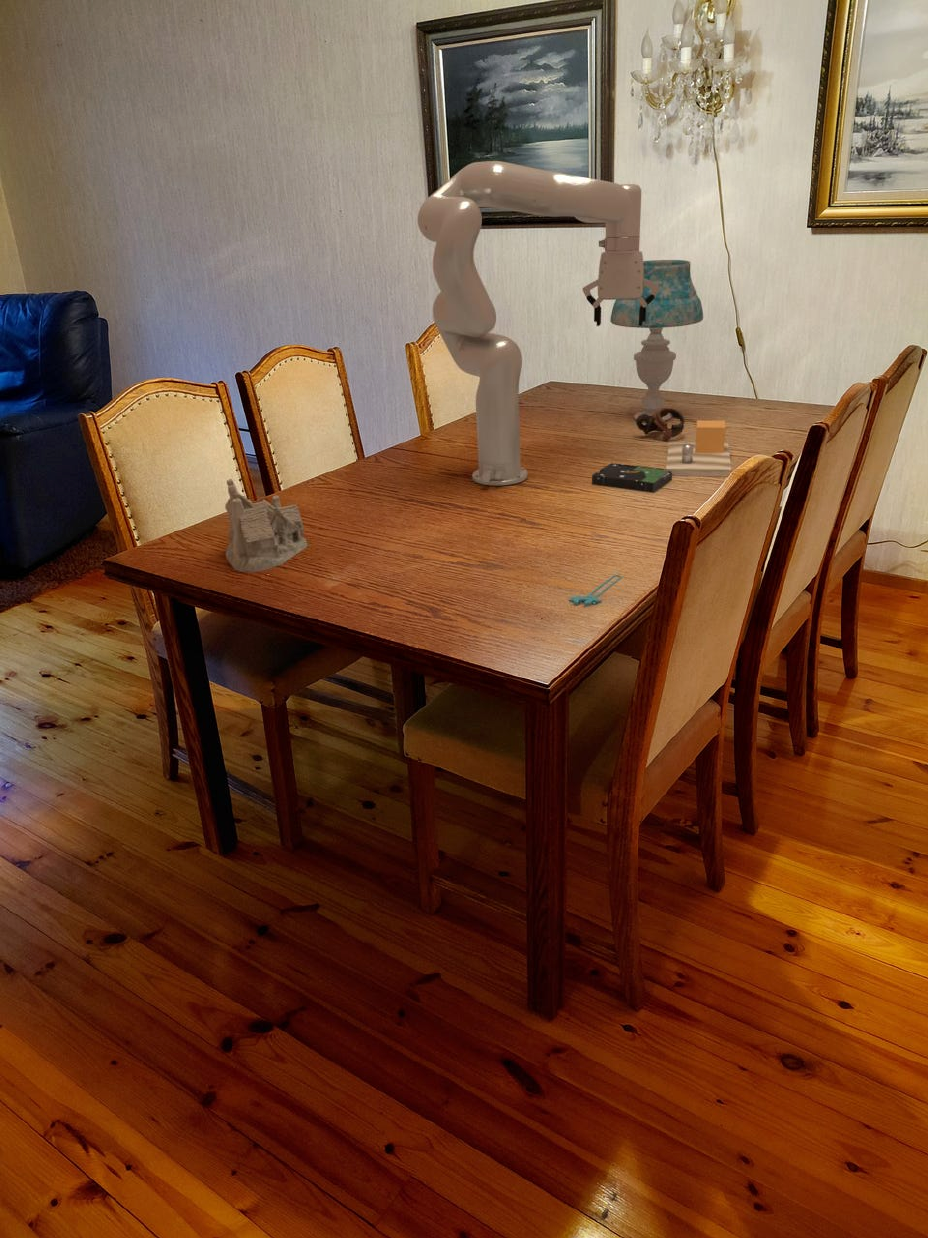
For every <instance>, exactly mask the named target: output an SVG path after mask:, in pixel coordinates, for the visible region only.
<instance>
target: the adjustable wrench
mask: <svg viewBox="0 0 928 1238" xmlns="http://www.w3.org/2000/svg"><path fill="white" fill-rule="evenodd" d="M616 577H618V578H617V579H616V580H615V581H613V582H612V583H611V584H609V585H608V586H607V587H606V586H604V585H607V583H609V582H610V581H611V580H612V579H614V578H616ZM622 577H623V576H622V575H621V574H619V575H618V574H614V575H612V576H611V577H609V578H608V579H607V580H606V581H604V582H603V583H602V584H600V585H598V587H597V588H595V589H594V590H593V591H591V592H590V593H588V594H587V595H584V596H583V595H582V596H580V595H575V596H570V597H569V602H570V603H572V605H575V606H576V607H578V606H579V604H583V603H584V607H591V606H592V605H593V606H596V605H599V604H602V599H599V597H600V596H601V595H602V594H604V593H605V592H606V591H608V590H609V589H610V588H612V587H613V586H614V585H615V584H616V583H617V582H619V581H620V580H621V579H622ZM595 593H598V594H597V595H596V594H595ZM593 594H595V595H593Z"/></svg>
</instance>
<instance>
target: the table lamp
mask: <svg viewBox="0 0 928 1238" xmlns="http://www.w3.org/2000/svg"><path fill="white" fill-rule="evenodd" d="M691 264H692V263H691V261H689V260H684V259H683V260H681V259H657V260H655V259H653V260H652V259H651V260H643V266H644V278H645V279H647V280H649V281H651V282H653V283H655V284H656V285H658V286H659V287H660V288H659V291H658V292H657V294H656V296H655V298H654V299H653V300H652V301H651V302H650V303H649V304H648V305H647V307H646V321H645V322H643V324H642V326H640V325H639V308H640V307H641V304H640V303H639V302H638V300H637V299H628V300H614V303H613V306H612V311H611V313H610V323H611V324H613V325H615V326H618V327H626V328H637V329H638V328H641V329H642V328H643V329H649V332H650V333H649V334H648V337H647V338H646V339H643V340H641V342H640V345H641V346H642V348H641V349H640V351H638V352H635V353H634V355H633V359H634V361H635V363H636V372H637V376H638V379H639V380H640V381H641V383H643V384H645V386H646V387H647V390H648V391H646V392H645V396H643V397H642V398H641V401H640V402H641V405H640V406H641V409H643V411H639V412H637V413H635V415H634V416H633V417H634V419H635V420H636V419H637V418H638V416H640V415H642V414H647V415H649V416H651V415H653V414H654V413H656V412H658V410H659V409H661V408H666V407H665V406H666V398H665V397H664V396H662V392H661V391H660V388H661V386H662V385H663V384H664V383H666V382H667V381H668V379H669V378H670V377H671V375H672V372H673V366H674V361H675V360H676V357H677V355H676V352H674V351H671V350H670V348H669V347H668V346H669V345H670V344H671V341H670V340H669V339H668V338H667V339H666V338H665V337H664V335H663V334H662V331H663V329H664V328H675V327H684V326H685V327H686V326H690V325H694V324H699V323H701V322H702V321H703V320H704V311H703V305H702V301H701V299H700V298H699V296H698V295H697V290H696V287H695V285H694V283H693V280H692V276H691ZM651 292H652V289H650V288H649V287H647V286H645V285H644V289H643V294H642V295H643V297H644V298H645V299H646V298H647V297H648V296H649V295H650V294H651ZM671 418H672V414H670V413H668V415H666V416H664V417H662V419H663V420H664V421H665V422H666V421H669V420H670V419H671ZM642 423H646V422H645V421H642Z"/></svg>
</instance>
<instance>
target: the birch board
mask: <svg viewBox="0 0 928 1238" xmlns="http://www.w3.org/2000/svg"><path fill="white" fill-rule="evenodd" d="M683 444H693V445H694V446H693V462H692V463H690V464H684V463H682V447H683ZM695 444H696V442H668V446H667V456H666V469H665V470H669V471H671V473H672V477H673V476H674V477H675V476H676V477H679V476H680V477H682V476H683V477H724V478H725V477H727V476H728V475H729V474H730V473H731V474H732V465H731V455H730V448H729V443H727V442H724V453H695Z"/></svg>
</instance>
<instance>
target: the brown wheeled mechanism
mask: <svg viewBox="0 0 928 1238" xmlns="http://www.w3.org/2000/svg"><path fill="white" fill-rule="evenodd" d="M668 413H669V414H670V415H671V418H673V419H676V420H679V421H680V423H677V424H671V427H668V424H669V423H668V422H666V421H664V420H663V419H662V417H664V416H666V415H668ZM642 421H645V422H644V423H645V424H643V422H642ZM685 422H686V421H685V417H684V415H683V414H682V413H681V412H680V411H678V410H677V409H674V408H670V407H664V408H661V409H659V410H658V412H656V413H654V414H653V415H651V416H649V415H647V414H642V415H640V416H638V418H637V419H635V424H636V426H637V428H638V430H640V431H642V432H643V433H644V435H646V436H648V435H649V434H650V433H652V432H660V433H664V434H663V436H662V441H665V442H668V441H670V440H671V438H674V437H677V436H678V435H681V433H683V431H684V429H685V425H684V424H685Z"/></svg>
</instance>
